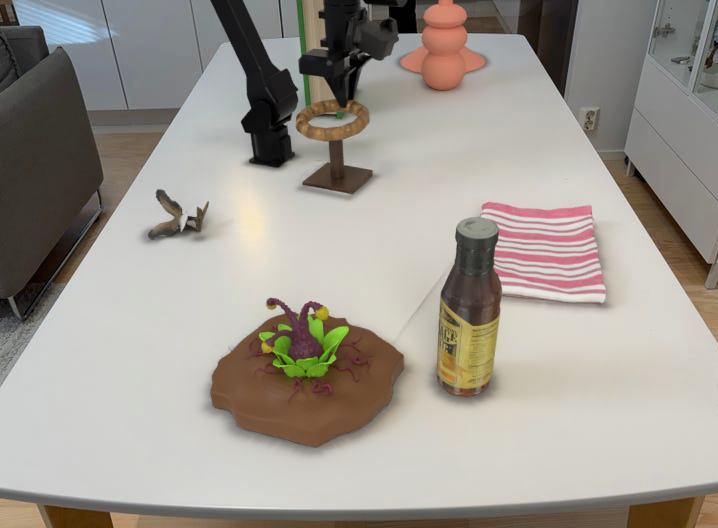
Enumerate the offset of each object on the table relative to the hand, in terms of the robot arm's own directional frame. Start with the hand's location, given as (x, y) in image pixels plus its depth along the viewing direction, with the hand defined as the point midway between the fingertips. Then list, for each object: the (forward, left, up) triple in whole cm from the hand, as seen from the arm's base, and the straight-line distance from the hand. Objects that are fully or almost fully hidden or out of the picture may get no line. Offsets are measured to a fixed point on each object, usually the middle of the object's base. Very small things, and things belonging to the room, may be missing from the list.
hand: (346, 105), depth 115 cm
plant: (+22, -52, -12) cm, 58 cm away
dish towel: (+38, -16, -12) cm, 43 cm away
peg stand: (0, -4, -12) cm, 13 cm away
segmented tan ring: (0, -5, -1) cm, 5 cm away
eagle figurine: (-14, -30, -12) cm, 36 cm away
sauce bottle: (+38, -45, -12) cm, 60 cm away
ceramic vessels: (-7, +62, -12) cm, 63 cm away
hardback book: (-20, +31, -12) cm, 39 cm away
